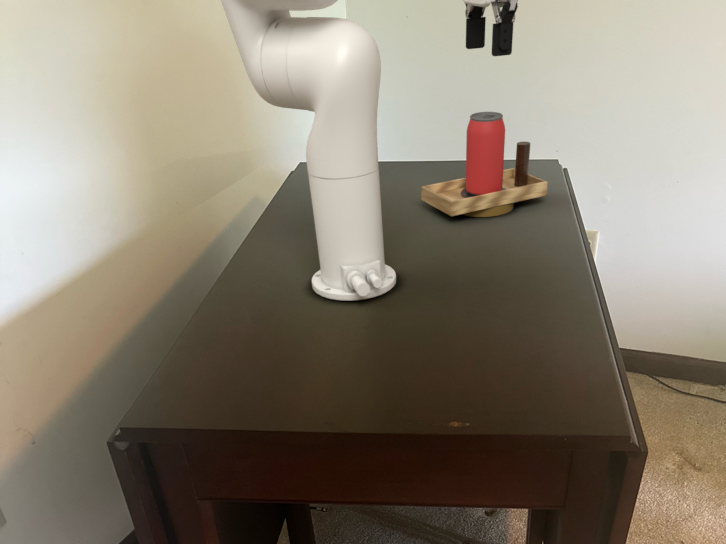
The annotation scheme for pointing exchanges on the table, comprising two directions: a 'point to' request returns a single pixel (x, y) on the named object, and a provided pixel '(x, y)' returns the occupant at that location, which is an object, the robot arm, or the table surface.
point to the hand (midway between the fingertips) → (487, 51)
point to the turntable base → (491, 211)
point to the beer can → (485, 153)
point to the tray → (514, 189)
